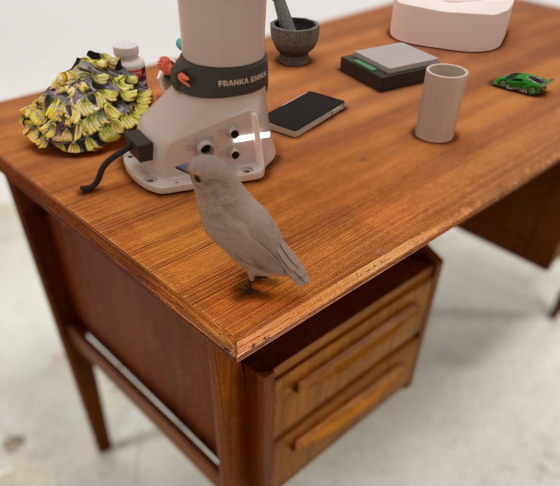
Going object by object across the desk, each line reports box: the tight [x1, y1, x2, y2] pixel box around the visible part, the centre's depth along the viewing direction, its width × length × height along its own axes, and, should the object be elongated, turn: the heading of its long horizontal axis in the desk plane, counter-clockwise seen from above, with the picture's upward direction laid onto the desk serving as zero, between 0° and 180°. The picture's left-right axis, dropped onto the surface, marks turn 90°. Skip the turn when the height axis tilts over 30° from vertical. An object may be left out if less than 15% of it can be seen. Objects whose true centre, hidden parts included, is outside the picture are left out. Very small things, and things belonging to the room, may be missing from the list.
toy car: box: [491, 72, 555, 95], centre depth 107 cm, size 10×5×2 cm, turn 52°
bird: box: [175, 154, 311, 298], centre depth 57 cm, size 5×14×15 cm, turn 72°
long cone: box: [156, 56, 177, 95], centre depth 106 cm, size 6×6×19 cm
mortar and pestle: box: [269, 0, 321, 67], centre depth 113 cm, size 11×9×12 cm
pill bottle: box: [112, 40, 149, 87], centre depth 95 cm, size 5×5×10 cm
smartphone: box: [268, 90, 346, 138], centre depth 96 cm, size 8×1×15 cm
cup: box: [414, 62, 470, 144], centre depth 89 cm, size 6×6×10 cm
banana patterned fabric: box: [18, 49, 154, 154], centre depth 86 cm, size 20×16×6 cm
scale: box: [339, 41, 440, 93], centre depth 111 cm, size 15×13×4 cm
